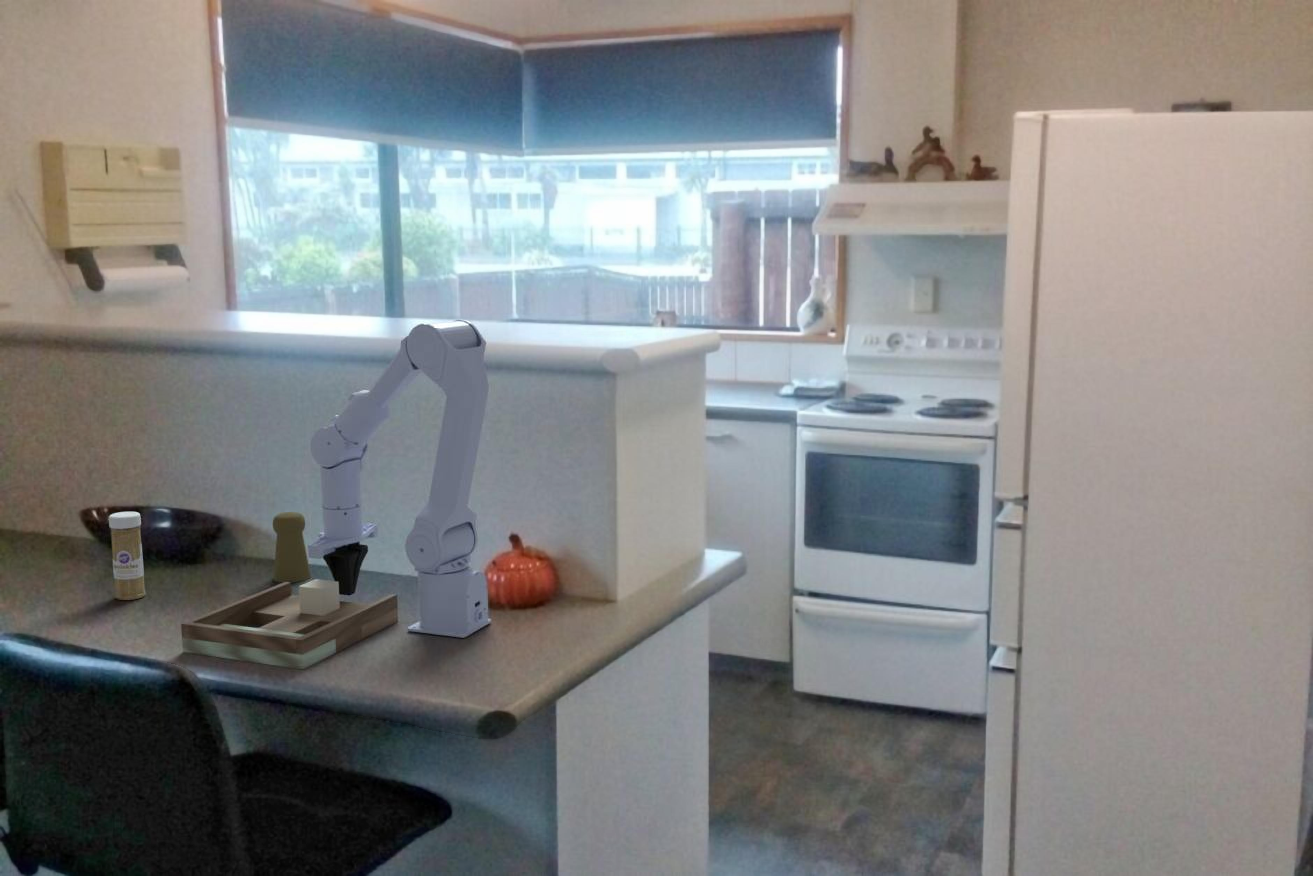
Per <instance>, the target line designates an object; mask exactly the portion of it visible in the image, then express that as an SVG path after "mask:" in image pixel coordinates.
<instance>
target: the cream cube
mask: <svg viewBox="0 0 1313 876" xmlns="http://www.w3.org/2000/svg"><path fill="white" fill-rule="evenodd" d="M298 596H299V602H300V613H305V614H313V615H321V616H324V615H326V614H328V613H330V612H332V611H334V610H337V609H339V608H340V602H339V601H340V594H339V583H338V582H337V581H334V580H328V579H318V578H316V579H313V580H310V581H308V582H306V583H303V584H301V585H299V586H298Z"/></svg>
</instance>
